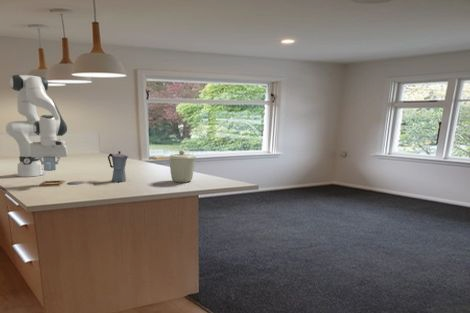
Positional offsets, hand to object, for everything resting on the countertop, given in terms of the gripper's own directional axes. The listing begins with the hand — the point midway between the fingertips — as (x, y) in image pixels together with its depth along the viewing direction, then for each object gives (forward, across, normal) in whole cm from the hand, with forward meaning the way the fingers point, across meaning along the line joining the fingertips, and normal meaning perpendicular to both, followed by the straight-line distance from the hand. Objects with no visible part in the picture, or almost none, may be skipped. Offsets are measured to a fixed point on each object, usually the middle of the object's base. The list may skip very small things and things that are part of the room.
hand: (50, 164), depth 202 cm
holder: (+13, 0, -1) cm, 13 cm away
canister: (+12, +80, -6) cm, 82 cm away
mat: (+13, +14, -1) cm, 19 cm away
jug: (+3, 0, -4) cm, 6 cm away
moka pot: (+13, +39, +4) cm, 42 cm away
